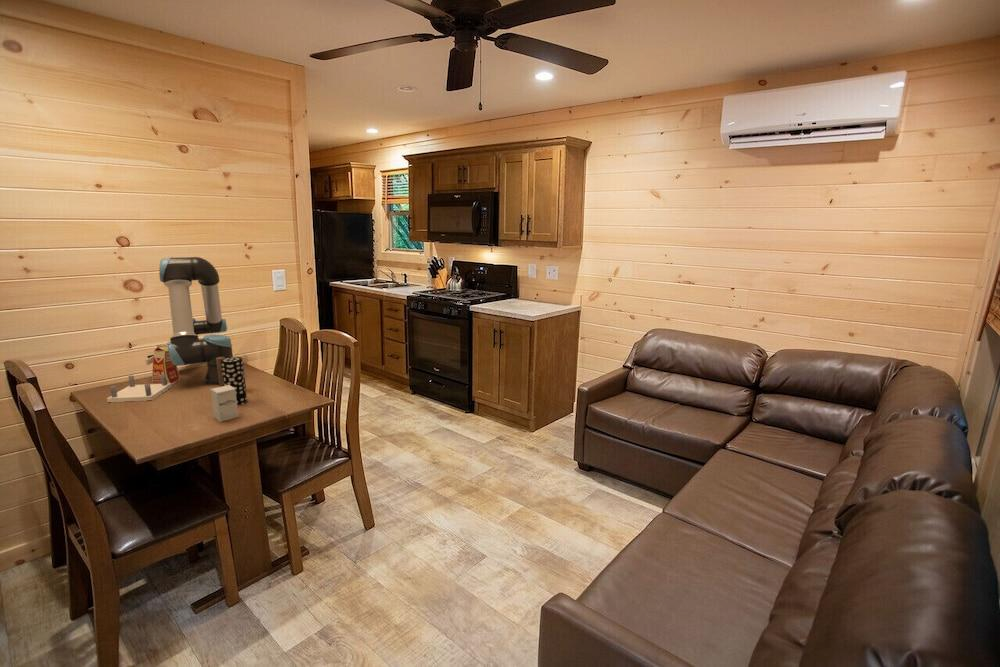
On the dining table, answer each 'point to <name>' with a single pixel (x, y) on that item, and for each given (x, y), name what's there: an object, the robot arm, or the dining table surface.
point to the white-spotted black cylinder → (234, 377)
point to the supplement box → (224, 403)
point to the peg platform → (139, 391)
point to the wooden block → (221, 371)
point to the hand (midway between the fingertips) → (161, 362)
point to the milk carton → (163, 366)
